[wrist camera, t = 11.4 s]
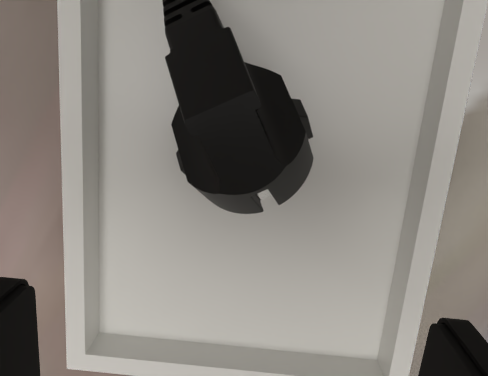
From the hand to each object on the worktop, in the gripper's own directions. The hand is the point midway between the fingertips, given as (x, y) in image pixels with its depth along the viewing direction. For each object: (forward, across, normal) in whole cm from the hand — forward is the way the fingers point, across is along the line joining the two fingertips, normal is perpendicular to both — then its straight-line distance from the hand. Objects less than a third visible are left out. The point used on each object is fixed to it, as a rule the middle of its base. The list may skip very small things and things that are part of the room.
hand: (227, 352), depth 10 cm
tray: (+13, 0, -3) cm, 13 cm away
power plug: (+13, +2, -6) cm, 14 cm away
